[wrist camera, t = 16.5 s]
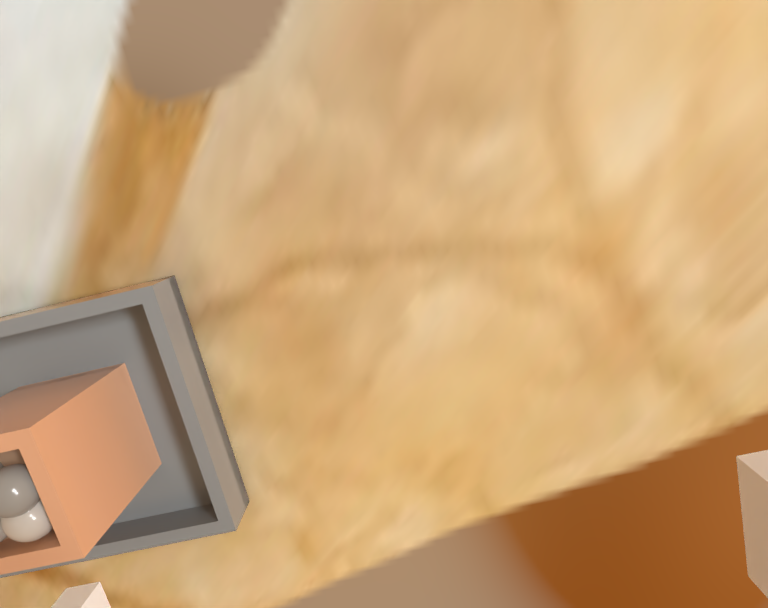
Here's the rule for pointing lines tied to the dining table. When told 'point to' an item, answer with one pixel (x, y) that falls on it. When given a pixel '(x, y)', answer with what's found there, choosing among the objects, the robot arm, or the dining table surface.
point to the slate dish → (156, 397)
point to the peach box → (69, 464)
